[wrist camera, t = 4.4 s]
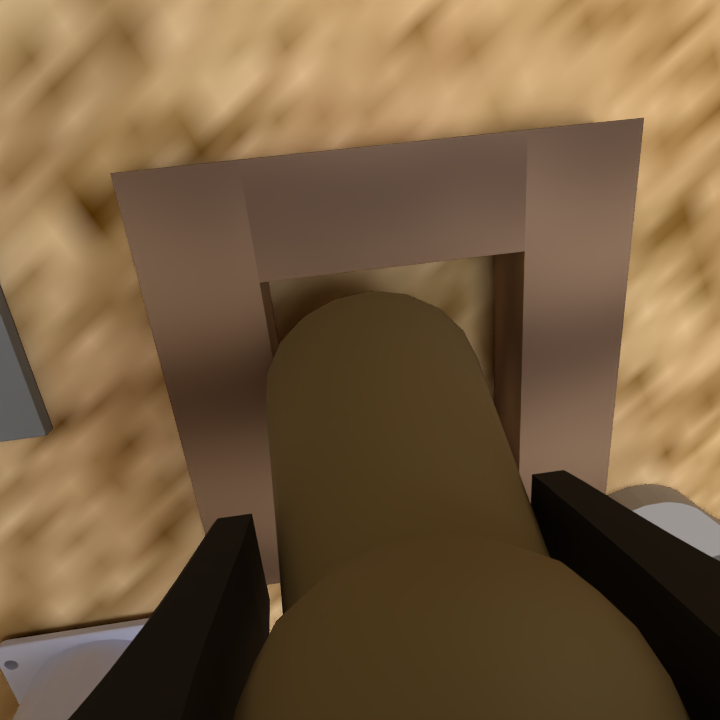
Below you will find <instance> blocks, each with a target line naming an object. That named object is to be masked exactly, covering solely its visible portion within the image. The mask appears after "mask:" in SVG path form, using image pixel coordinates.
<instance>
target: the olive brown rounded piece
mask: <svg viewBox="0 0 720 720" xmlns="http://www.w3.org/2000/svg"><path fill="white" fill-rule="evenodd" d="M266 414H267V426H268V438H269V450H270V462H271V475H272V487H273V499H274V511H275V523H276V536H277V548H278V560H279V572H280V584H281V596H282V609H283V615H282V616H281V617H280V618H279V619H278V620H277V621H276V623H275V624H274V626H273V628H272V630H271V632H270V634H269V636H268V638H267V639H266V641H265V643H264V645H263V647H262V649H261V651H260V653H259V655H258V656H257V658H256V660H255V662H254V664H253V667H252V669H251V672H250V674H249V677H248V679H247V682H246V684H245V687H244V689H243V692H242V694H241V697H240V699H239V702H238V704H237V707H236V709H235V712H234V718H233V720H691V719H690V717H689V715H688V713H687V711H686V709H685V707H684V705H683V703H682V700H681V698H680V696H679V694H678V692H677V690H676V688H675V686H674V684H673V681H672V679H671V677H670V676H669V674H668V673H667V671H666V670H665V668H664V667H663V665H662V664H661V662H660V661H659V659H658V658H657V656H656V655H655V653H654V652H653V650H652V649H651V647H650V646H649V645H648V643H647V642H646V640H645V639H644V637H643V636H642V634H641V633H640V631H639V630H638V628H637V627H636V626H635V625H634V624H633V623H632V622H631V621H630V620H629V619H628V618H627V617H626V616H624V615H623V614H622V613H621V612H620V611H619V610H618V609H617V608H616V607H615V606H614V605H613V604H612V603H611V602H610V601H609V600H608V599H607V598H605V597H604V596H603V595H602V594H601V593H600V592H599V591H598V590H597V589H595V588H594V587H593V586H592V585H590V584H589V583H588V582H586V581H585V580H584V579H583V578H581V577H580V576H579V575H577V574H576V573H575V572H574V571H572V570H571V569H570V568H568V567H567V566H566V565H565V564H563V563H562V562H561V561H558V560H555V559H552V558H550V555H549V553H548V550H547V547H546V544H545V542H544V539H543V536H542V533H541V531H540V528H539V525H538V522H537V520H536V517H535V514H534V512H533V509H532V506H531V503H530V501H529V498H528V495H527V492H526V490H525V487H524V484H523V481H522V479H521V476H520V473H519V471H518V468H517V465H516V462H515V460H514V457H513V454H512V451H511V449H510V446H509V443H508V440H507V438H506V435H505V432H504V430H503V427H502V424H501V421H500V419H499V416H498V413H497V410H496V408H495V405H494V402H493V399H492V397H491V394H490V391H489V388H488V386H487V383H486V380H485V378H484V375H483V372H482V369H481V367H480V364H479V361H478V358H477V356H476V355H475V353H474V351H473V349H472V347H471V345H470V343H469V341H468V339H467V337H466V335H465V333H464V331H463V330H462V329H461V328H460V327H459V326H458V325H457V324H455V323H454V322H453V321H452V320H451V319H450V318H449V317H448V316H447V315H446V314H445V313H443V312H442V311H441V310H440V309H439V308H437V307H435V306H432V305H430V304H428V303H425V302H423V301H421V300H418V299H416V298H414V297H412V296H409V295H406V294H395V293H384V292H373V291H370V292H365V293H361V294H356V295H352V296H347V297H342V298H338V299H334V300H332V301H331V302H329V303H327V304H325V305H324V306H322V307H320V308H318V309H317V310H315V311H313V312H311V313H310V314H308V315H306V316H304V317H303V318H302V319H301V320H300V321H299V322H298V324H297V325H296V326H295V327H294V328H293V329H292V330H291V331H290V332H289V334H288V335H287V336H286V337H285V338H284V339H283V340H282V341H281V342H280V344H279V347H278V349H277V351H276V354H275V356H274V358H273V361H272V363H271V365H270V368H269V370H268V372H267V388H266Z"/></svg>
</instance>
